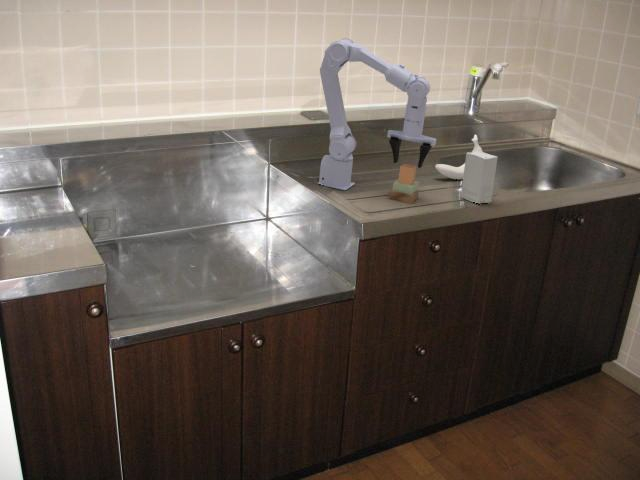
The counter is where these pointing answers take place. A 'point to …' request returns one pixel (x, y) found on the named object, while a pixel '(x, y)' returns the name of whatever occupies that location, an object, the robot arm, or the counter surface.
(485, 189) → the skincare box
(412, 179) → the terracotta block
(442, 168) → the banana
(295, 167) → the counter surface
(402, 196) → the walnut slab
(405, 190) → the sage block
